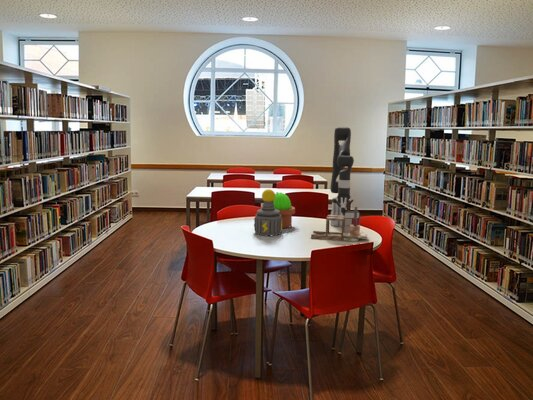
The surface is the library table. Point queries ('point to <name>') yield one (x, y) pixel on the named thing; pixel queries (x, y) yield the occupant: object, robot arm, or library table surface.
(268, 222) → the decorative lamp
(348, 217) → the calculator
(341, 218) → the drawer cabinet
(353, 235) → the cube with grey rod
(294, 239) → the library table surface
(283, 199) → the potted cactus
